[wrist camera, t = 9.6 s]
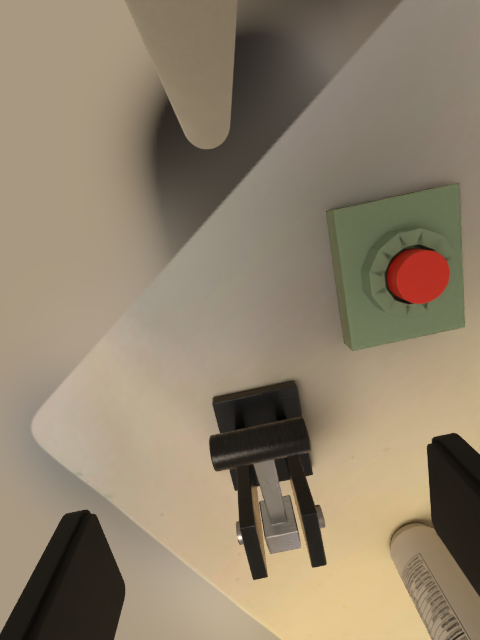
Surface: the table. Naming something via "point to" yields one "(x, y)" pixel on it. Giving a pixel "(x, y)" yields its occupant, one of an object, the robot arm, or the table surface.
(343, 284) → the button box
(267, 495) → the lever
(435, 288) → the stop button
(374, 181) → the table surface
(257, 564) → the bracket
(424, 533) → the energy drink can
